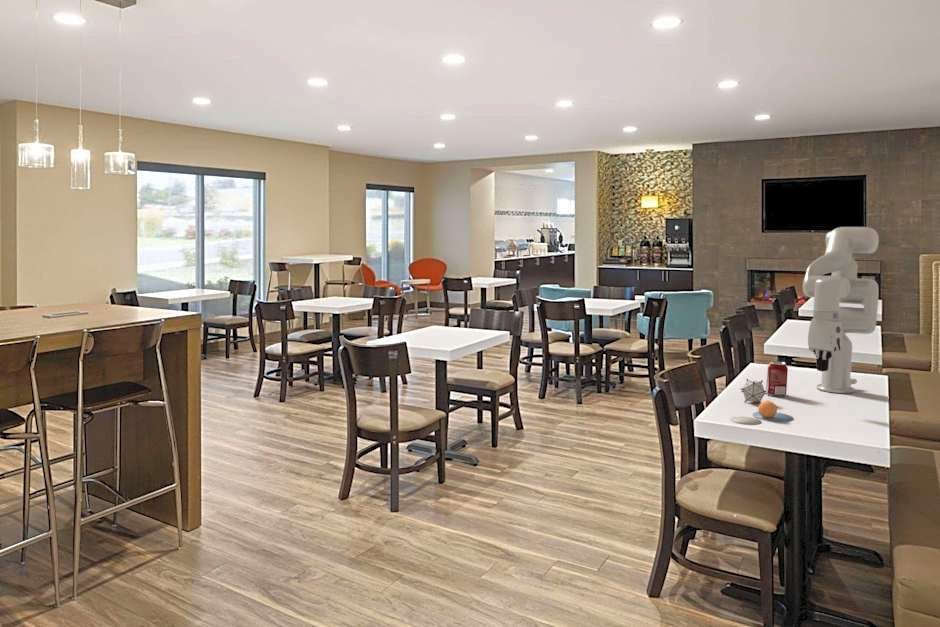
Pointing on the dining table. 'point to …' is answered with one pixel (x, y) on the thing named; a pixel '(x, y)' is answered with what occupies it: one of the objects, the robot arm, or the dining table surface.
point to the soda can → (776, 378)
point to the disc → (775, 417)
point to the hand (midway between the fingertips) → (822, 370)
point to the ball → (767, 409)
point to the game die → (753, 391)
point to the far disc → (746, 420)
